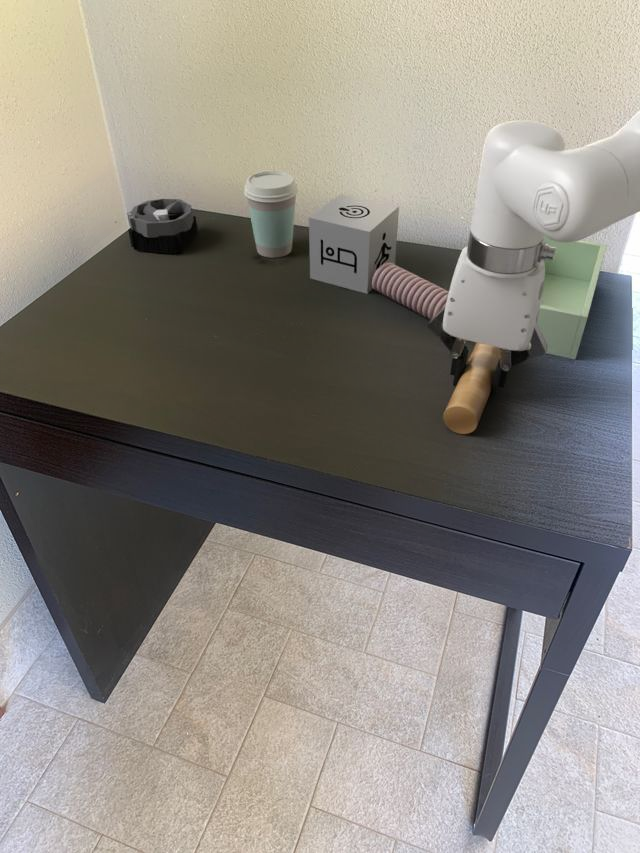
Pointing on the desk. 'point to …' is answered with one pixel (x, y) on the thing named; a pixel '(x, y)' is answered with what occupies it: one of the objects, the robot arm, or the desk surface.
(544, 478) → the desk surface
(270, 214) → the coffee cup
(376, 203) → the icon cube
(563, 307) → the bin
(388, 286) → the coil
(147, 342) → the desk surface
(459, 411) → the wooden cylinder
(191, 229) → the cpu cooler
